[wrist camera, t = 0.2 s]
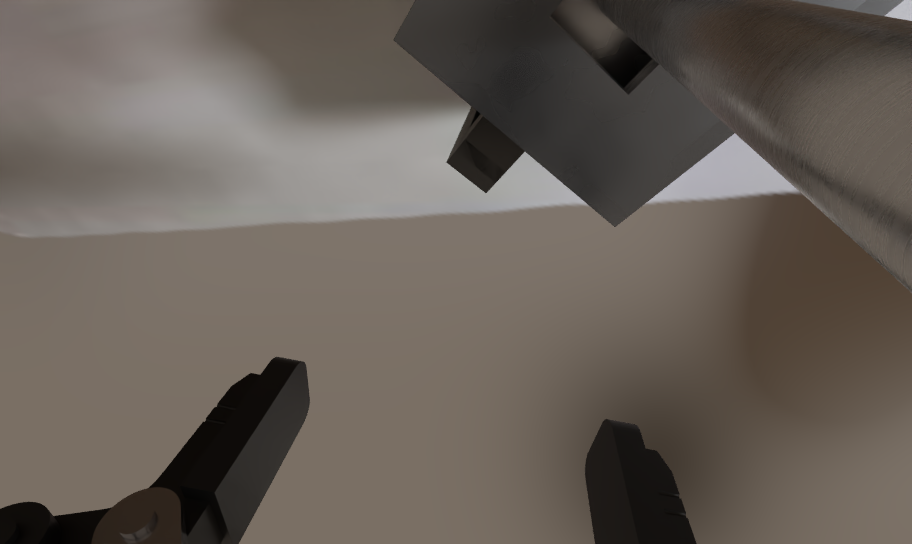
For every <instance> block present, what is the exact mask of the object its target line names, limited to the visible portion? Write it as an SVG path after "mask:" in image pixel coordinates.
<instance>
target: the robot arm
mask: <svg viewBox="0 0 912 544" xmlns="http://www.w3.org/2000/svg"><path fill="white" fill-rule="evenodd" d="M309 403H310V397H309V388H308V379H307V370H306V364H305V362H302V361H297V360H291V359H286V358H280V357H275V358H273V359H272V360H271V361H270V363H269V364H268V365H267V367H266V368H265V369H264V371H263V372H262V373H261V375H258V374H253V373H250V374H249V375H247V376H246V377H244V378H243V379H241V380H240V381H238V382H237V383H236V384H234V385H233V386H231V387H230V389H229V390H228V391H227V392H226V394H225V395H224V396H223V398H222V399H221V400H220V401H219V403H218V405H217V407H215V408H214V409H213V410H212V411H211V413H210V414H209V415H208V417H207V418H206V421H205V422H203V423H202V424H201V425H200V426H199V428H198V429H197V430H196V432H195V433H194V434H193V435H192V437H191V438H190V439H189V440H188V442H187V443H186V444H185V445H184V447H183V448H182V449H181V451H180V452H179V453H178V454H177V456H176V457H175V458H174V459H173V461H172V462H171V463H170V464H169V466H168V467H167V468H166V470H165V471H164V472H163V473H162V474H161V476H160V477H159V478H158V479H157V480H156V481H155V482H154V483H153V484H152V485H151V486H150V487H149V488H147V489H144V490H141V491H138V492H135V493H133V494H131V495H129V496H127V497H126V498H124V499H122V500H121V501H120V502H118V503H117V504H116V505H114V506H113V507H112V508H108V509H102V510H95V511H88V512H81V513H74V514H66V515H58V516H53V515H52V514H51V513H50V511H49V510H48V509H47V508H46V507H45V506H44V505H42V504H40V503H36V502H23V503H18V504H13V505H10V506H7V507H4V508H2V509H0V544H239V542H240V540H241V538H242V536H243V535H244V532H245V531H246V529H247V527H248V525H249V523H250V521H251V520H252V518H253V516H254V514H255V512H256V510H257V508H258V507H259V505H260V503H261V501H262V499H263V497H264V496H265V494H266V492H267V490H268V488H269V486H270V484H271V483H272V481H273V479H274V477H275V475H276V473H277V471H278V470H279V468H280V466H281V464H282V462H283V460H284V458H285V456H286V455H287V453H288V451H289V449H290V447H291V445H292V444H293V441H294V440H295V438H296V436H297V434H298V432H299V430H300V429H301V427H302V425H303V423H304V421H305V419H306V416H307V413H308V408H309ZM585 477H586V485H587V491H588V498H589V505H590V512H591V519H592V526H593V532H594V539H595V544H696V541H695V538H694V535H693V532H692V529H691V527H690V524H689V521H688V518H686V512H685V509H684V506H683V503H682V500H681V499H680V498H679V492H678V488H677V486H676V483H675V480H674V477H673V474H672V471H671V470H670V469H669V467H668V466H667V464H666V463H665V462H664V460H663V459H662V458H661V456H660V455H659V453H658V452H657V451H655V450H650V449H645V445H644V442H643V439H642V435H641V433H640V429H639V428H638V426H637V425H635V424H630V423H625V422H619V421H613V420H608V419H606V420H604V421H603V423H602V425H601V427H600V429H599V431H598V433H597V435H596V437H595V440H594V442H593V444H592V446H591V448H590V450H589V452H588V454H587V458H586V465H585Z"/></svg>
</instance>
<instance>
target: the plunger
mask: <svg viewBox="0 0 912 544" xmlns="http://www.w3.org/2000/svg"><path fill="white" fill-rule="evenodd" d="M551 17H552V18H553V19H554V20H555V21H556V22H557V23H558V24H559V25H560V26H561V27H562V28H563V29H565V30H566V31H567V32H568V33H569V34H570V35H571V36H572V37H573V38H574V39H575V40H576V41H577V42H578V43H579V44H580V45H581V46H582V47H583V48H584V49H585V50H586V51H587V52H588V53H589V54H590V55H591V56H592V57H593V58H594V59H595V60H596V61H597V62H598V63H599V64H600V65H601V66H602V67H603V68H604V69H605V70H606V71H607V72H608V73H609V74H610V75H611V76H612V77H613V78H614V79H615V80H616V81H617V82H618V83H619V84H620V85H621V86H622V87H623V88H624V87H625V86H626V85H627V84H628V83H629V82H630V81H631V80H632V79H633V78H634V77H635V76H636V75H637V74H638V73H639V72H640V71H641V70H642V69H643V68H644V67H645V66H646V65H647V64H648V63H649V62H650V61H651V60H652V59H654V60H655V61H656V62H657V63H658V64H659V65H660V66H661V67H662V68H664V69H665V70H666V71H667V72H668V73H669V74H670V75H671V76H672V77H673V78H675V79H676V80H677V81H678V82H679V83H680V84H681V85H682V86H683V87H685V88H686V89H687V90H688V91H689V92H690V93H691V94H692V95H693V96H695V97H696V98H697V99H698V100H699V101H700V102H701V103H702V104H703V105H704V106H706V107H707V108H708V109H709V110H710V111H711V112H712V113H713V114H714V115H716V116H717V117H718V118H719V119H720V120H721V121H722V122H723V123H724V124H726V125H727V126H728V127H729V128H730V129H731V130H732V131H733V132H734V133H735V134H737V135H738V136H739V137H740V138H741V139H742V140H743V141H744V142H745V143H747V144H748V145H749V146H750V147H751V148H752V149H753V150H754V151H755V152H757V153H758V154H759V155H760V156H761V157H762V158H763V159H764V160H765V161H766V162H768V163H769V164H770V165H771V166H772V167H773V168H774V169H775V170H776V171H778V172H779V173H780V174H781V175H782V176H783V177H784V178H785V179H786V180H788V181H789V182H790V183H791V184H792V185H793V186H794V187H795V188H796V189H797V190H799V191H800V192H801V193H802V194H803V195H804V196H805V197H806V198H807V199H809V200H810V201H811V202H812V203H813V204H814V205H815V206H816V207H817V208H818V209H820V210H821V211H822V212H823V213H824V214H825V215H826V216H827V217H829V218H830V219H831V220H832V221H833V222H834V223H835V224H836V225H837V226H838V227H840V228H841V229H842V230H843V231H844V232H845V233H846V234H847V235H848V236H849V237H851V238H852V239H853V240H854V241H855V242H856V243H857V244H859V245H860V246H861V247H862V248H863V249H864V250H865V251H866V252H867V253H868V254H870V255H871V256H872V257H873V258H874V259H875V260H876V261H877V262H878V263H879V264H880V265H882V266H883V267H884V268H885V269H886V270H887V271H888V272H889V273H890V274H892V275H893V276H894V277H895V278H896V279H897V280H898V281H899V282H900V283H902V284H903V285H904V286H905V287H906V288H907V289H908V290H909V291H910V292H911V293H912V21H908V20H902V19H897V18H891V17H885V16H879V15H874V14H868V13H862V12H857V11H851V10H845V9H839V8H834V7H828V6H822V5H817V4H811V3H805V2H799V1H794V0H562V2H561V3H560V4H559V5H558V7H557V8H556V9H555V11H554V12H553V13H552V14H551Z"/></svg>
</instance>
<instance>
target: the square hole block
mask: <svg viewBox="0 0 912 544" xmlns="http://www.w3.org/2000/svg"><path fill="white" fill-rule="evenodd" d="M794 1H799V2H805V3H811V4H817V5H822V6H828V7H834V8H839V9H845V10H851V11H857V12H862V13H868V14H874V15H879V16H884V15H886V14H887V13H888V12H890V11H891V10H892V9H893V8H895V7H896V6H897V5H898V4H900V3H901V2H902V1H904V0H794ZM561 2H562V0H416V1H415V2H414V4H413V6H412V8H411V9H410V11H409V13H408V15H407V17H406V18H405V20H404V22H403V24H402V26H401V27H400V29H399V31H398V33H397V34H396V36H395V38H394V41H395V42H396V43H397V44H399V45H400V46H401V47H402V48H403V49H404V50H406V51H407V52H408V53H409V54H410V55H412V56H413V57H414V58H415V59H416V60H418V61H419V62H420V63H421V64H422V65H423V66H425V67H426V68H427V69H428V70H429V71H431V72H432V73H433V74H434V75H435V76H436V77H438V78H439V79H440V80H441V81H442V82H444V83H445V84H446V85H447V86H448V87H450V88H451V89H452V90H453V91H454V92H455V93H457V94H458V95H459V96H460V97H461V98H463V99H464V100H465V101H466V102H467V103H468V104H470V105H471V106H472V107H471V109H470V111H469V113H468V115H467V118H466V120H465V122H464V124H463V127H462V129H461V131H460V133H459V136H458V138H457V140H456V142H455V144H454V147H453V149H452V151H451V153H450V156H449V158H448V160H447V163H448V164H449V165H451V166H452V167H453V168H454V169H456V170H457V171H458V172H459V173H461V174H462V175H463V176H465V177H466V178H467V179H468V180H470V181H471V182H472V183H474V184H475V185H476V186H477V187H479V188H480V189H481V190H483V191H484V192H485V193H487V192H488V191H489V190H490V188H491V187H492V186H493V185H494V184H495V183H496V182H497V181H498V180H499V179H500V178H501V177H502V175H503V174H504V173H505V172H506V171H507V170H508V169H509V168H510V167H511V166H512V165H513V164H514V162H515V161H516V160H517V159H518V158H519V157H520V156H521V155H522V154H523V153H524V152H526V153H528V154H529V155H530V156H531V157H532V158H534V159H535V160H536V161H537V162H538V163H540V164H541V165H542V166H543V167H544V168H545V169H547V170H548V171H549V172H550V173H551V174H553V175H554V176H555V177H556V178H557V179H558V180H560V181H561V182H562V183H563V184H564V185H566V186H567V187H568V188H569V189H570V190H572V191H573V192H574V193H575V194H576V195H577V196H579V197H580V198H581V199H582V200H583V201H585V202H586V203H587V204H588V205H589V206H590V207H592V208H593V209H594V210H595V211H596V212H598V213H599V214H600V215H601V216H603V218H605V219H606V220H607V221H608V222H609V223H611V224H612V225H613V226H614V227H616V226H617V225H618V224H620V223H621V222H622V221H623V220H625V219H626V218H627V217H628V216H630V215H631V214H632V213H634V212H635V211H636V210H637V209H639V208H640V207H641V206H642V205H644V204H645V203H646V202H648V201H649V200H650V199H651V198H653V197H654V196H655V195H656V194H658V193H659V192H660V191H662V190H663V189H664V188H665V187H667V186H668V185H669V184H670V183H672V182H673V181H674V180H676V179H677V178H678V177H679V176H681V175H682V174H683V173H684V172H686V171H687V170H688V169H690V168H691V167H692V166H693V165H695V164H696V163H697V162H699V161H700V160H701V159H702V158H704V157H705V156H706V155H707V154H709V153H710V152H711V151H713V150H714V149H715V148H716V147H718V146H719V145H720V144H721V143H723V142H724V141H725V140H727V139H728V138H729V137H730V136H732V135H733V134H734V132H733V131H732V130H731V129H730V128H729V127H728V126H727V125H726V124H724V123H723V122H722V121H721V120H720V119H719V118H718V117H717V116H716V115H714V114H713V113H712V112H711V111H710V110H709V109H708V108H707V107H706V106H704V105H703V104H702V103H701V102H700V101H699V100H698V99H697V98H696V97H695V96H693V95H692V94H691V93H690V92H689V91H688V90H687V89H686V88H685V87H683V86H682V85H681V84H680V83H679V82H678V81H677V80H676V79H675V78H673V77H672V76H671V75H670V74H669V73H668V72H667V71H666V70H665V69H664V68H662V67H661V66H660V65H659V64H658V63H657V62H656V61H655V60H654V59H652V60H651V61H650V62H649V63H648V64H647V65H646V66H645V67H644V68H643V69H642V70H641V71H640V72H639V73H638V74H637V75H636V76H635V77H634V78H633V79H632V80H631V81H630V82H629V83H628V84H627V85H626V86H625V87H624V88H623V87H622V86H621V85H620V84H619V83H618V82H617V81H616V80H615V79H614V78H613V77H612V76H611V75H610V74H609V73H608V72H607V71H606V70H605V69H604V68H603V67H602V66H601V65H600V64H599V63H598V62H597V61H596V60H595V59H594V58H593V57H592V56H591V55H590V54H589V53H588V52H587V51H586V50H585V49H584V48H583V47H582V46H581V45H580V44H579V43H578V42H577V41H576V40H575V39H574V38H573V37H572V36H571V35H570V34H569V33H568V32H567V31H566V30H565V29H563V28H562V27H561V26H560V25H559V24H558V23H557V22H556V21H555V20H554V19H553V18H552V17H551V14H552V13H553V12H554V11H555V9H556V8H557V7H558V5H559V4H560V3H561Z"/></svg>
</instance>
